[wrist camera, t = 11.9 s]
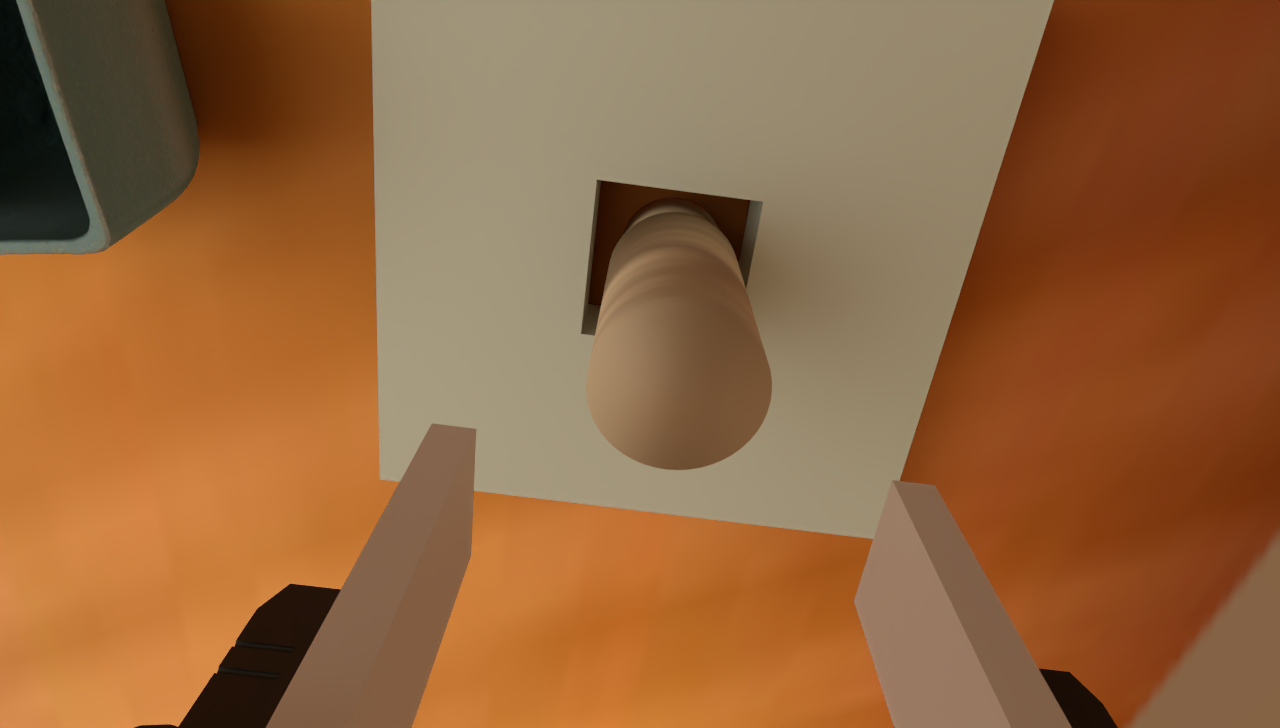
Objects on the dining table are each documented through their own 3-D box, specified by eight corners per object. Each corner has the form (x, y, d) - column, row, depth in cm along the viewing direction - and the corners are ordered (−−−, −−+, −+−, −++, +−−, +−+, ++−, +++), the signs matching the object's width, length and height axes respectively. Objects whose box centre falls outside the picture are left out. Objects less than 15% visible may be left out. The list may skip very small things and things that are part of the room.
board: (403, 440, 33) (379, 479, 30) (401, -98, 25) (369, -110, 22) (862, 496, 34) (880, 539, 31) (1014, -10, 25) (1057, -11, 23)
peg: (607, 295, 30) (577, 458, 19) (620, 182, 28) (595, 292, 17) (719, 309, 30) (753, 480, 19) (739, 198, 28) (789, 316, 17)
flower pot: (203, -92, 25) (-18, -137, 17) (268, 183, 29) (112, 255, 21) (-60, -81, 25) (-403, -120, 17) (37, 190, 29) (-206, 263, 21)
